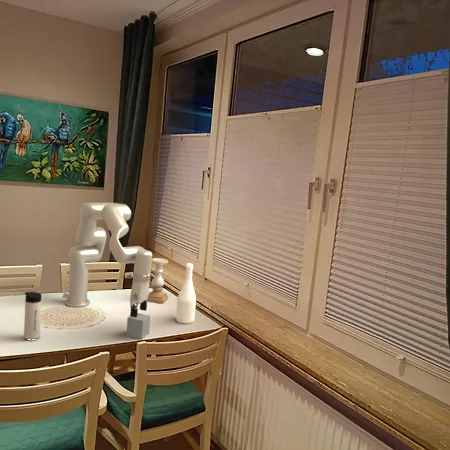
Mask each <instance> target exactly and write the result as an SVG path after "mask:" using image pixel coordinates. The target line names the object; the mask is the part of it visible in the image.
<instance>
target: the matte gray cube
mask: <svg viewBox="0 0 450 450" xmlns="http://www.w3.org/2000/svg"><path fill="white" fill-rule="evenodd" d="M150 324H151V315H150V314H145V313H139V312H138V313H137V317H131V316H130V315H129V316H128V317H127V320H126V333H125V334H126V335H125V336H126V338H133V339H137V340H138V339H139V340H143V339H144V338H145V337H147V336H148V335H149V334H150Z"/></svg>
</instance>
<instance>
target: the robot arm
mask: <svg viewBox="0 0 450 450" xmlns="http://www.w3.org/2000/svg"><path fill="white" fill-rule="evenodd" d="M131 216H132V210H131V209H130V207H129V206H128V205H127V204H125V203H119V202H118V203H116V202H99V201H97V202H84V203H83V204H82V205H81V206H80V209H79V223H78V226H77V229H76V234H75V242H76V244H77V245H75V246H73V247H71V248H70V249H69V251H68V260H69V282H68V293H66V292H65V293H63V295H62V298H63V299H66V300H65V301H64V303H65V305H66V306H68V307H73V308H79V307H80V308H81V307H86V306H89V304H90V303H91V302H90V301H91V300H90V299H88V290H89V289H88V288H89V287H88V285H89V270H88V267H87V266H86V264H89V263H97V262H99V261H100V260H101V259H102V257H103V254H104V250H105V246H106V242H107V232H106V230H105V229H104V228H103V227H100V226H97V225H98V224H97V222H98V221H97V220H104V222H105V224H106V226H107V228H108V229H109V230H108V231H110V234H111V236H110V239H109V249H110V251H111V254H112V256H113V257H114V259H115V261H116V262H117V263H118V264H120V265H121V264H122V265H124V264H134V265H133V277H132V285H131V291H130V295H129V296H130V297H129V304H130V307H129V308H130V314H129V316H131V317H137V313H139V312H138V311H139V310H140V311H144V312H146V311H147V308H148V307H147V306H148V302H147V301H148V294H149V293H150V291H149V290H150V282H151V273H152V272H151V271H152V263H153V262H152V259H153V252H152V251H150V250H147V249H145V248H144V247H143V246H140V245H135V246H124V247H123V245H122V244H121V242H120V240H119V239H121V238H123V237H124V236H125V235H127V233H128V232H129V230H130V228H129V225H128V223H127V221H129V220H130V219H131ZM138 306H139V307H138Z"/></svg>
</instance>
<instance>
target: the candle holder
mask: <svg viewBox="0 0 450 450" xmlns="http://www.w3.org/2000/svg"><path fill="white" fill-rule="evenodd" d="M152 263H154V265H155V269H154V274H155V275H154V277H153V278H152V280H151V284H152V288H151V289H152V291H149V294H148V301H147V303H153V302H154V303H155V304H160V303H161V305H163V304H165V303H166V302H167V300H168V299H169V295H168V294H167V293H166V292H164V291H163V290H164V288H163V286H164V285H165V279H164V278H163V276H162V274H163V272H164V269H163V266H164V265H165V264H168V263H169V259H167V258H161V257H154V258H153V257H152ZM154 303H153V304H154Z"/></svg>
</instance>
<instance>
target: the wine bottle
mask: <svg viewBox="0 0 450 450" xmlns="http://www.w3.org/2000/svg"><path fill="white" fill-rule="evenodd" d="M193 269H194V264H193V263H191V262H190V263H189V262H188V263H186V264H185V278H184V281H183V283H182V286H181V288H180V291H179V293H178V295H177V301H176V310H175V311H176V312H175V321H176V322H177V323H180V324H187V325H189V324H192V323H193V322H194V321H195V316H196V302H197V297H196V292H195V288H194V283H193Z"/></svg>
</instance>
